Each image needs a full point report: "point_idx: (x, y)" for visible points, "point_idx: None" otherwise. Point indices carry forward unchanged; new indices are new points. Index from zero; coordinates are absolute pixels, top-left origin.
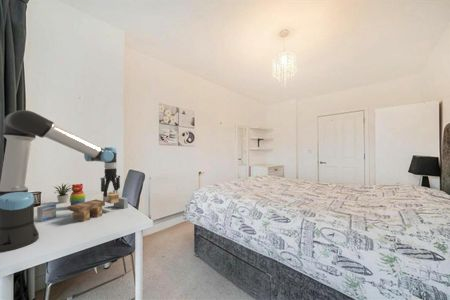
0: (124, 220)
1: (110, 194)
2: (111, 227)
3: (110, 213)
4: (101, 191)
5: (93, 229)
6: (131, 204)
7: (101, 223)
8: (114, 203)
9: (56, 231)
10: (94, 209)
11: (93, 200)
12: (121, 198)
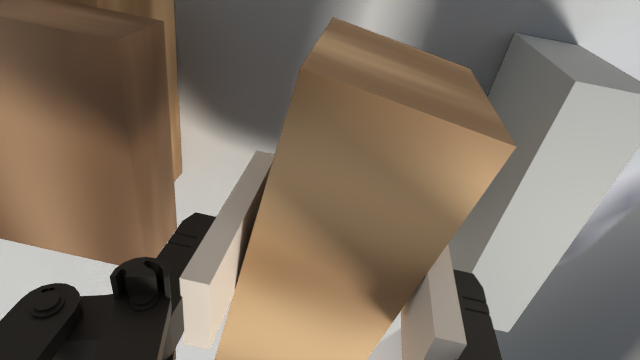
0: (196, 356)
1: (272, 308)
2: None
3: None
4: (50, 293)
5: (22, 291)
6: (617, 210)
7: (90, 276)
8: (520, 68)
9: None
10: None
11: (51, 64)
12: (489, 266)
